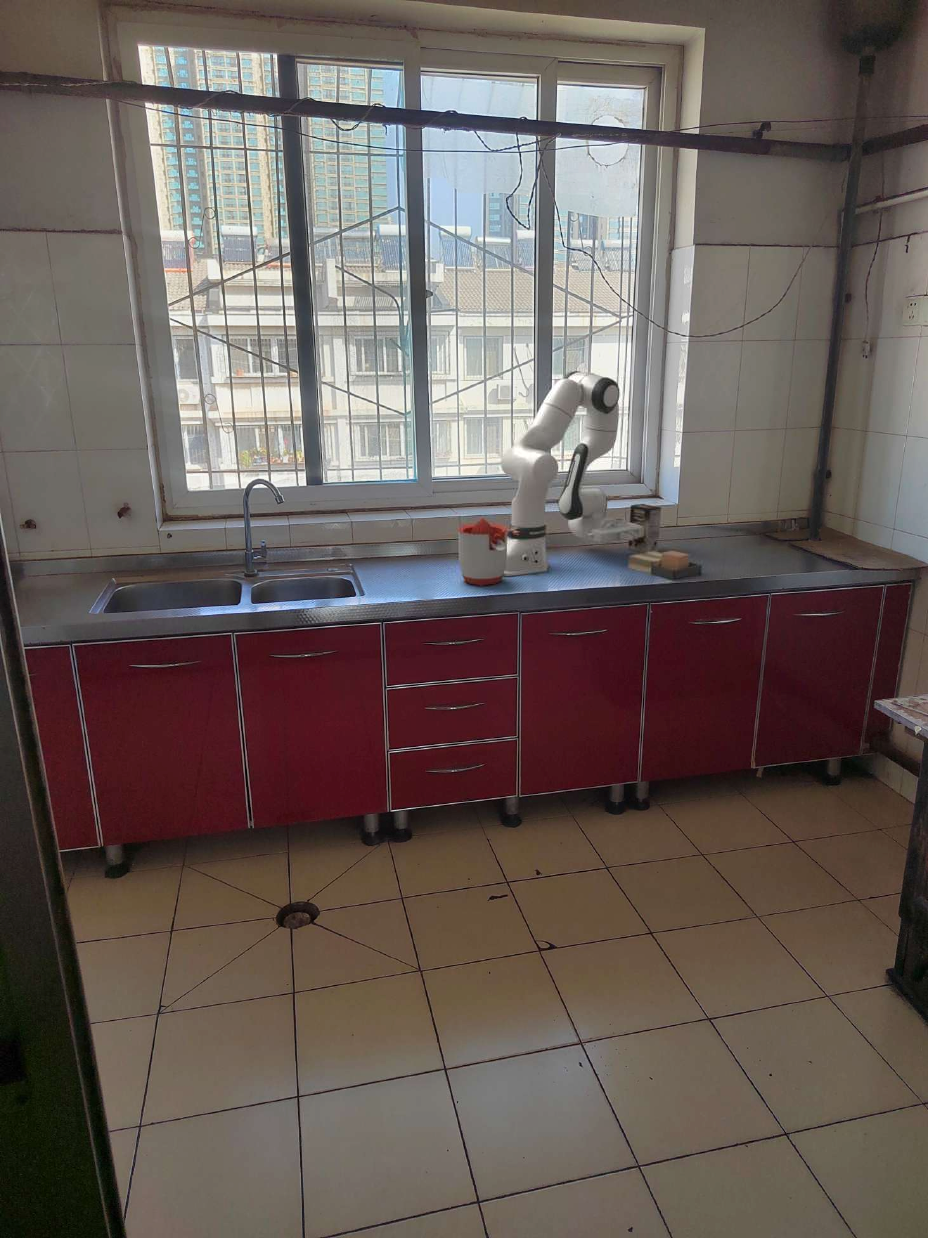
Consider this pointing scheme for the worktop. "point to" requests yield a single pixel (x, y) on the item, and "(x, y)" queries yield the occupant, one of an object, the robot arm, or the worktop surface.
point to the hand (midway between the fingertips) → (634, 537)
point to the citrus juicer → (482, 552)
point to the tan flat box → (645, 561)
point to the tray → (677, 571)
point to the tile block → (674, 560)
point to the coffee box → (646, 527)
